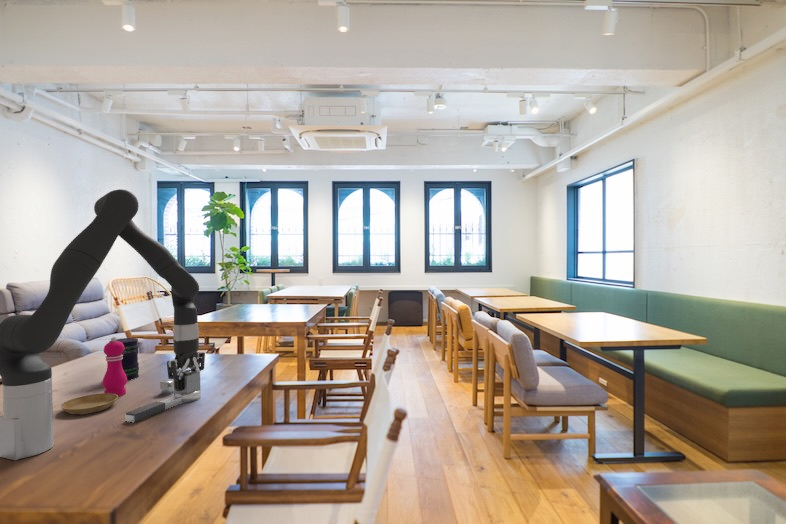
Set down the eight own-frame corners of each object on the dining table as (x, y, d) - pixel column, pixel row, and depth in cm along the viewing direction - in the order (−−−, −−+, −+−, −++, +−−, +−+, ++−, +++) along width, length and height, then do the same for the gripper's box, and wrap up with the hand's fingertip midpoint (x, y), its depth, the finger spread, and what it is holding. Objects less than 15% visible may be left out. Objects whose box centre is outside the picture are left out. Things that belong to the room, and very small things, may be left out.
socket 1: (167, 395, 146) (166, 383, 146) (157, 394, 147) (157, 382, 147) (177, 391, 150) (177, 380, 150) (167, 390, 151) (167, 379, 151)
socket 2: (187, 394, 138) (186, 373, 138) (173, 393, 140) (173, 372, 140) (200, 389, 143) (199, 369, 143) (187, 388, 145) (187, 368, 145)
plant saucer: (129, 402, 139) (129, 394, 139) (85, 419, 125) (85, 410, 125) (94, 399, 143) (94, 391, 143) (48, 415, 129) (48, 406, 129)
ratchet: (139, 424, 120) (139, 402, 120) (119, 420, 123) (118, 400, 123) (206, 396, 144) (205, 378, 144) (187, 394, 147) (187, 376, 147)
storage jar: (128, 381, 163) (127, 342, 162) (103, 382, 163) (102, 343, 163) (144, 374, 173) (143, 337, 172) (120, 374, 173) (119, 338, 173)
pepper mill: (115, 398, 143) (113, 339, 143) (97, 397, 144) (95, 338, 144) (132, 391, 150) (131, 335, 150) (115, 390, 152) (113, 334, 151)
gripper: (194, 333, 149) (195, 380, 150) (159, 340, 136) (160, 393, 136) (211, 334, 147) (212, 382, 147) (177, 342, 133) (178, 395, 133)
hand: (187, 387), depth 141 cm, fingers open, 6 cm apart
